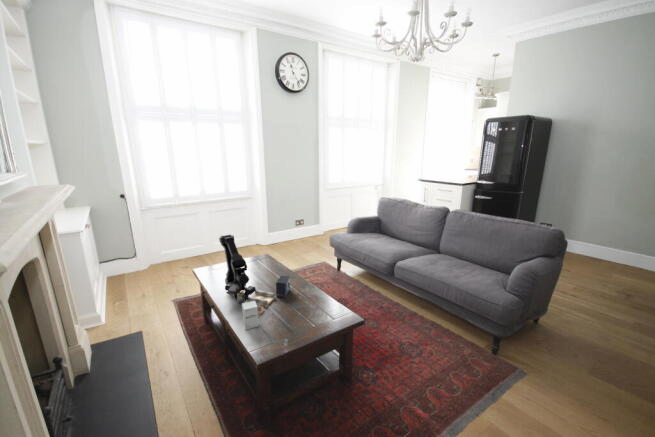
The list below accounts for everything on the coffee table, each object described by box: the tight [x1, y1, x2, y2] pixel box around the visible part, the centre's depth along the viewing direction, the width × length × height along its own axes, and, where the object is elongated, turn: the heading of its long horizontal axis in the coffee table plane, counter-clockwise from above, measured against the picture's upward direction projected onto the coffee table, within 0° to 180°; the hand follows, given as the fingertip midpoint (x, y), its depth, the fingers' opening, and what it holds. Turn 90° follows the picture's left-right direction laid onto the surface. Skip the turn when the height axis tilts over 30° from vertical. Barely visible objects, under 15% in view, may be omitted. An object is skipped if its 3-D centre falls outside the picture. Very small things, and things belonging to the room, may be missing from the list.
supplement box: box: [241, 301, 259, 331], centre depth 164 cm, size 7×7×13 cm
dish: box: [257, 306, 265, 316], centre depth 178 cm, size 8×8×4 cm
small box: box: [275, 275, 291, 298], centre depth 198 cm, size 11×6×10 cm, turn 168°
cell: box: [236, 290, 246, 306], centre depth 186 cm, size 4×4×8 cm
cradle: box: [246, 289, 277, 308], centre depth 190 cm, size 14×12×4 cm
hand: (241, 300), depth 187 cm, fingers open, 6 cm apart
